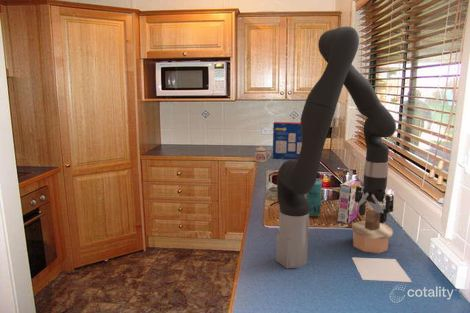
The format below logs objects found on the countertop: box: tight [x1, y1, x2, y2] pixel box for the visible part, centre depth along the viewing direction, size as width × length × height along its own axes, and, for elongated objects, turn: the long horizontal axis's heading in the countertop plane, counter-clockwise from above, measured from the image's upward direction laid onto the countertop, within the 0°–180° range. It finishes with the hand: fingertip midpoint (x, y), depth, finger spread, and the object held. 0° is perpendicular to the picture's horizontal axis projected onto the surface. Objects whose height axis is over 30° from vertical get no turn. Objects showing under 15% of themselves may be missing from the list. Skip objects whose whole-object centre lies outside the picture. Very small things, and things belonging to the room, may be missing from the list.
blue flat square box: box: [272, 121, 302, 161], centre depth 281 cm, size 28×8×28 cm, turn 81°
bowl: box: [352, 232, 390, 254], centre depth 128 cm, size 11×11×6 cm
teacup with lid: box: [254, 145, 272, 163], centre depth 272 cm, size 12×9×12 cm
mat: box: [351, 257, 413, 283], centre depth 112 cm, size 14×14×1 cm
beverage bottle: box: [305, 171, 323, 217], centre depth 156 cm, size 6×7×20 cm
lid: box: [351, 209, 394, 239], centre depth 127 cm, size 14×14×7 cm
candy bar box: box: [336, 179, 362, 225], centre depth 154 cm, size 11×5×16 cm, turn 141°
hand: (371, 218), depth 127 cm, fingers open, 8 cm apart
